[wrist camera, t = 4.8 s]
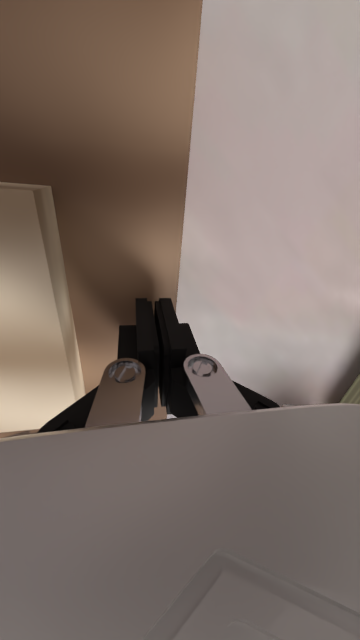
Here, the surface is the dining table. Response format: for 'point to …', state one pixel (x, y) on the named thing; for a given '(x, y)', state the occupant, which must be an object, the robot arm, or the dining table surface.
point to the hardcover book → (352, 393)
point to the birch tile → (34, 313)
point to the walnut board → (103, 148)
